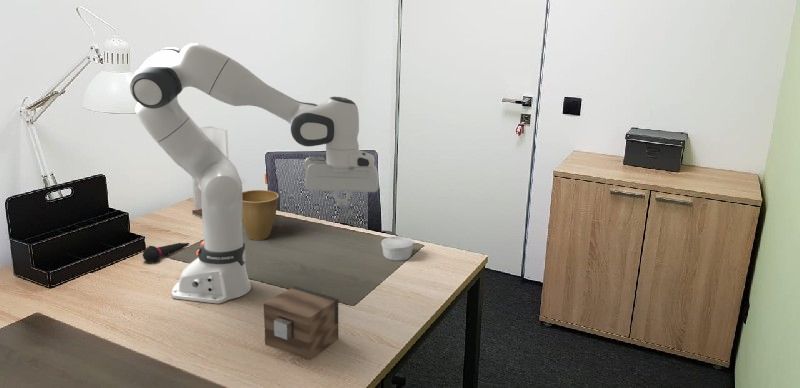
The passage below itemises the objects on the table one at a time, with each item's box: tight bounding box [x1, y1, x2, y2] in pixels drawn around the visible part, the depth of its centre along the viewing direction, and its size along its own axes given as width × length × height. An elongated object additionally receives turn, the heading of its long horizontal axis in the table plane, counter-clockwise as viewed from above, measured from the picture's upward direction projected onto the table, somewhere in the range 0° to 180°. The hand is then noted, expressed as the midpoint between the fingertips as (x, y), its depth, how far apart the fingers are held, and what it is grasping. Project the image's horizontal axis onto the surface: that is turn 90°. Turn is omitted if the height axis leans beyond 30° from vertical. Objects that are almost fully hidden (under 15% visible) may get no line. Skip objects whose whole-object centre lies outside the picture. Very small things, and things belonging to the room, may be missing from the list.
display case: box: [191, 126, 230, 219], centre depth 245 cm, size 11×11×35 cm
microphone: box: [142, 242, 190, 263], centre depth 210 cm, size 6×6×20 cm
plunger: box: [274, 317, 294, 340], centre depth 154 cm, size 14×4×4 cm, turn 150°
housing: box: [263, 285, 339, 361], centre depth 156 cm, size 12×14×11 cm
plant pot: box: [242, 189, 279, 241], centre depth 226 cm, size 15×15×16 cm
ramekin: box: [380, 236, 415, 262], centre depth 213 cm, size 11×11×5 cm
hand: (341, 205), depth 172 cm, fingers closed
